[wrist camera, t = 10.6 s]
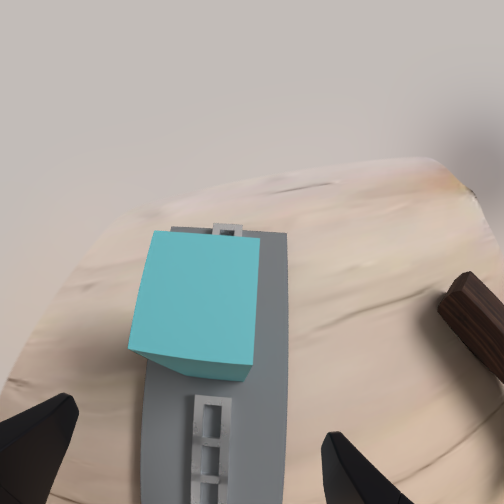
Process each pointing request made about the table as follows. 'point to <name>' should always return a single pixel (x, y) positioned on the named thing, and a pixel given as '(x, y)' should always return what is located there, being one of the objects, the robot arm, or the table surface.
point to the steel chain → (224, 438)
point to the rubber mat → (242, 409)
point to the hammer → (476, 320)
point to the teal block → (198, 304)
